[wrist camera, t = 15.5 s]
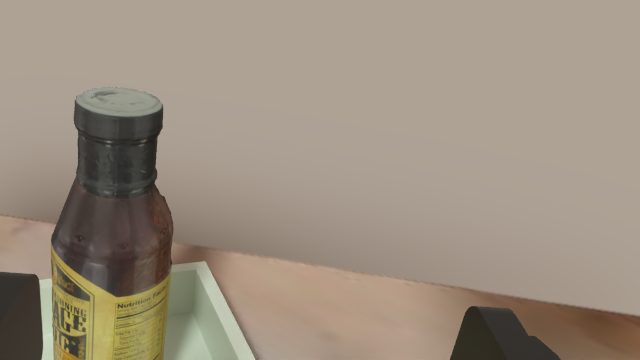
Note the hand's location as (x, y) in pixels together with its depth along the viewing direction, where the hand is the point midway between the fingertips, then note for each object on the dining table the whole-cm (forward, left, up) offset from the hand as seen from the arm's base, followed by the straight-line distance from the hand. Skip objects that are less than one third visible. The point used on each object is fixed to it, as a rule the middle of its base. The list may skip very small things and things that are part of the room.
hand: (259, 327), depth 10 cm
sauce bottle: (0, -20, -22) cm, 29 cm away
